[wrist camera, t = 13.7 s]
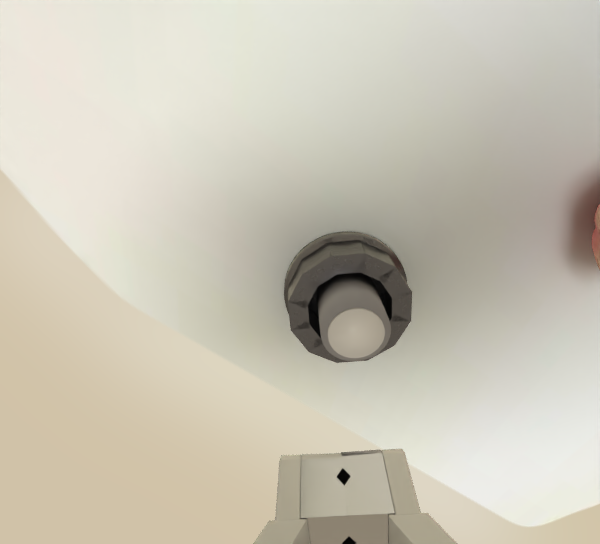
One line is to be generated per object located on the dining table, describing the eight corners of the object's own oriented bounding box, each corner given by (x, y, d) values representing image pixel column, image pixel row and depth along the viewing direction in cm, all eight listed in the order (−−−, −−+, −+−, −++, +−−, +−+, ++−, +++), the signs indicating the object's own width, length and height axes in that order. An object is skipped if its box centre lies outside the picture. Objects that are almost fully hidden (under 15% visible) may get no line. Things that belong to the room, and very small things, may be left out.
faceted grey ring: (405, 226, 33) (419, 243, 29) (403, 334, 37) (415, 361, 33) (278, 237, 33) (276, 254, 29) (290, 343, 37) (289, 370, 34)
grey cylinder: (375, 264, 33) (392, 300, 27) (375, 317, 35) (391, 361, 29) (314, 269, 33) (318, 306, 27) (318, 321, 35) (323, 366, 29)
